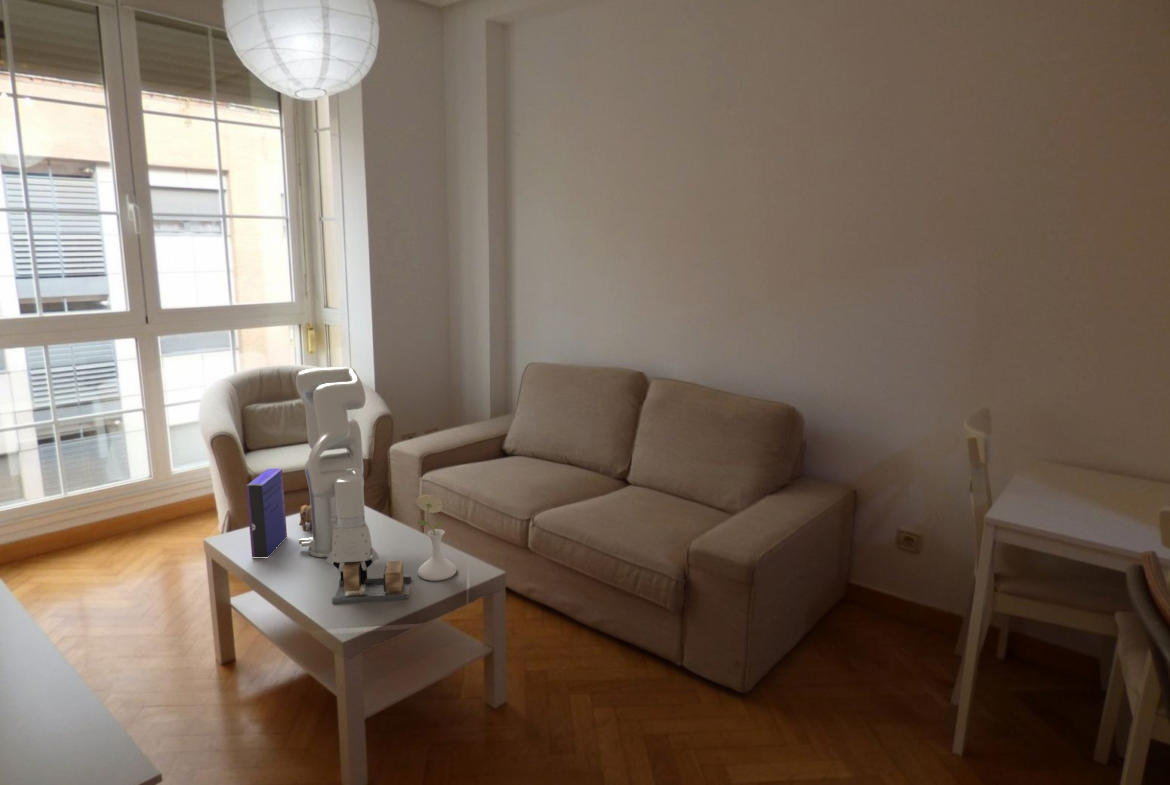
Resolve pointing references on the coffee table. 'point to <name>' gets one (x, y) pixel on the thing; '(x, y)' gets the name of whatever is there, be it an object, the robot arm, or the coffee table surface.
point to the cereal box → (266, 512)
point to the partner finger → (393, 577)
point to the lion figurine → (305, 516)
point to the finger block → (352, 576)
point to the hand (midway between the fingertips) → (354, 581)
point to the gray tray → (371, 591)
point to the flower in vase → (434, 544)
